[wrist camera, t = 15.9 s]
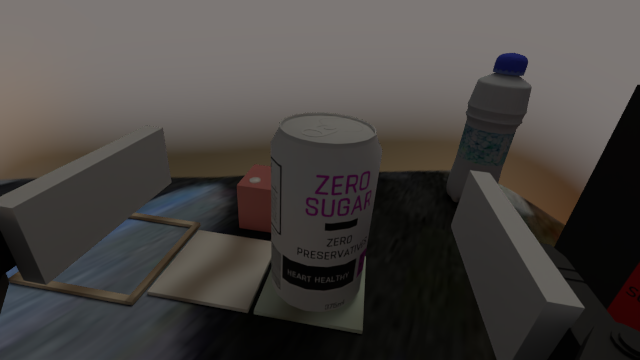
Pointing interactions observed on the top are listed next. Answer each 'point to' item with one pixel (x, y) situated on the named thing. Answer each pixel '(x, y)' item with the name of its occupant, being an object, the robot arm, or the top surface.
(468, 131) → the bottle
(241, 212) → the red die
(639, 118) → the cleaning product box
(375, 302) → the top surface
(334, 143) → the supplement can
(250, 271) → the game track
